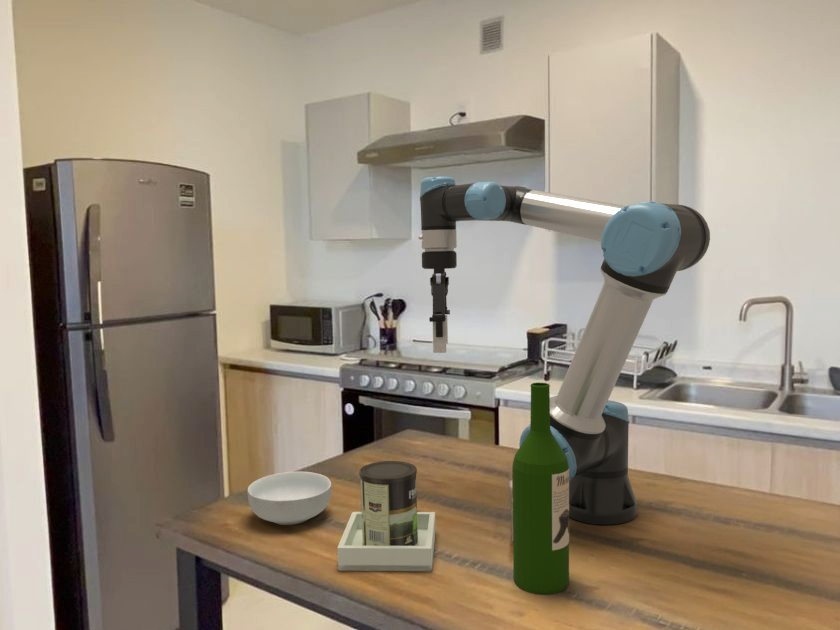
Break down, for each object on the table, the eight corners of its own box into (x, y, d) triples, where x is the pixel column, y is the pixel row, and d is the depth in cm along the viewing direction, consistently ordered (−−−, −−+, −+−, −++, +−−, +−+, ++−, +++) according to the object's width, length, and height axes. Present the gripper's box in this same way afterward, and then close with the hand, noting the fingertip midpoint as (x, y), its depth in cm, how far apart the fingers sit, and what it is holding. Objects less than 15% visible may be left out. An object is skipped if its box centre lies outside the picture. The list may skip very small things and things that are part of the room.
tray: (435, 532, 131) (435, 512, 130) (431, 571, 115) (431, 548, 114) (353, 531, 132) (352, 511, 131) (338, 570, 116) (337, 547, 115)
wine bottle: (556, 600, 104) (556, 392, 101) (504, 585, 109) (502, 386, 106) (577, 576, 112) (577, 381, 109) (527, 563, 117) (525, 377, 114)
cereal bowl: (231, 528, 135) (230, 494, 134) (277, 499, 150) (275, 468, 150) (307, 539, 129) (305, 503, 128) (346, 507, 144) (345, 475, 144)
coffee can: (419, 532, 128) (417, 459, 127) (417, 557, 118) (415, 478, 117) (364, 533, 128) (362, 460, 127) (358, 557, 118) (356, 479, 117)
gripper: (424, 250, 159) (426, 340, 161) (417, 250, 134) (420, 357, 136) (456, 249, 159) (458, 340, 161) (455, 249, 134) (457, 356, 136)
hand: (440, 348), depth 148 cm, fingers open, 13 cm apart
